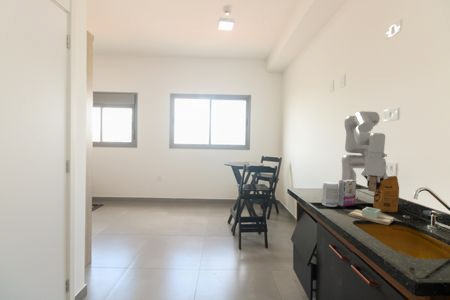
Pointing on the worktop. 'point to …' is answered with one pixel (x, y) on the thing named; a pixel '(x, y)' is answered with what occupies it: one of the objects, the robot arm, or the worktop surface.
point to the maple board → (381, 219)
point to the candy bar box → (347, 192)
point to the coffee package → (387, 195)
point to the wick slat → (372, 183)
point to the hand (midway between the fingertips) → (373, 188)
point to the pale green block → (371, 212)
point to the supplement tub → (330, 194)
